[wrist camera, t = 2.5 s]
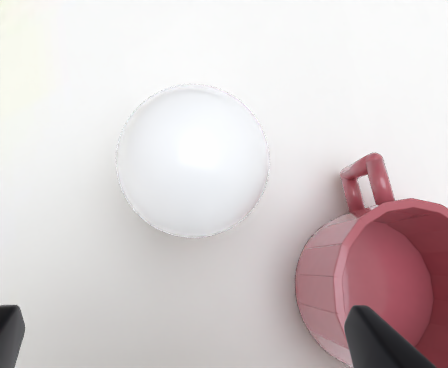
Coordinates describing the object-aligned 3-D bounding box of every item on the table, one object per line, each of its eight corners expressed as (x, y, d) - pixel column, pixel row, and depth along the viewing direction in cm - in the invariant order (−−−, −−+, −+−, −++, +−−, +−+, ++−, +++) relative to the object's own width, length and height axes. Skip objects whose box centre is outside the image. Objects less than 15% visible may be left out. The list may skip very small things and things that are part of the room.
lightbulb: (133, 154, 22) (97, 51, 12) (229, 148, 23) (276, 49, 13) (139, 253, 21) (105, 239, 10) (240, 242, 22) (305, 219, 11)
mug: (451, 348, 22) (538, 374, 17) (313, 385, 21) (361, 425, 15) (397, 164, 25) (458, 136, 20) (270, 182, 23) (299, 157, 18)
